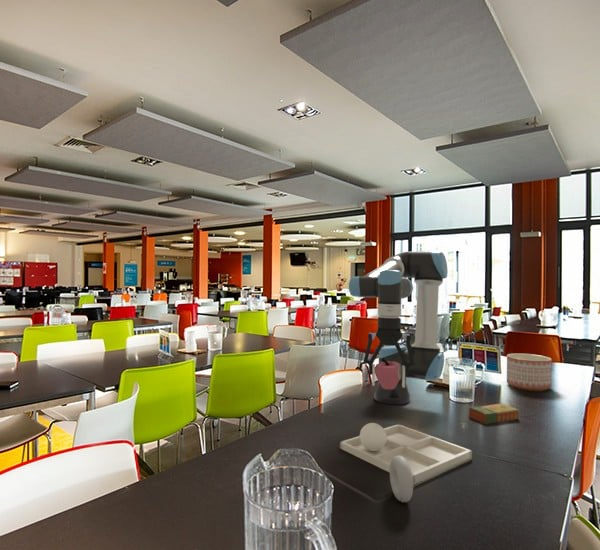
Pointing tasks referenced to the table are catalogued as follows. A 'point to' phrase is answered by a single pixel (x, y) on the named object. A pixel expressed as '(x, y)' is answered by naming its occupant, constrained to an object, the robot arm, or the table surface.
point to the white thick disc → (401, 478)
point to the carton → (493, 413)
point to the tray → (411, 452)
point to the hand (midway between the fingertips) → (388, 385)
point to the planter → (529, 372)
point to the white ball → (373, 437)
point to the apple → (388, 374)
